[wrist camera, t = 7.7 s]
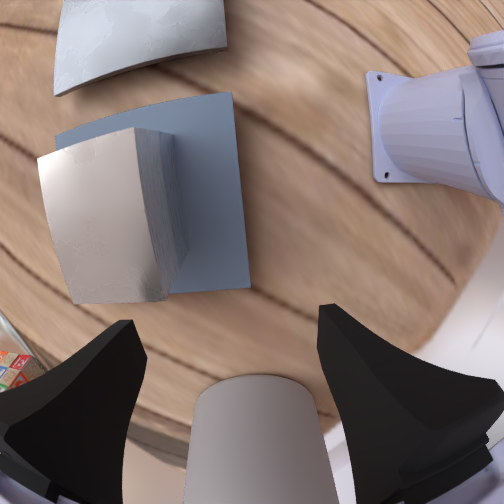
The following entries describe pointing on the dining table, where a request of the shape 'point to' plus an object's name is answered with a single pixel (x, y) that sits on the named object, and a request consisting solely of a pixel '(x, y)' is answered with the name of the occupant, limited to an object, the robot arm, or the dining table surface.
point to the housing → (116, 216)
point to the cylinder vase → (257, 445)
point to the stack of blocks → (17, 370)
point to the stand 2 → (196, 183)
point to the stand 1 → (132, 36)
